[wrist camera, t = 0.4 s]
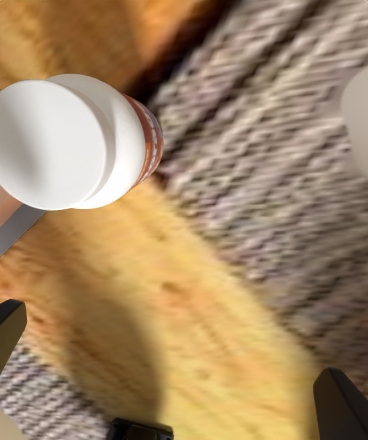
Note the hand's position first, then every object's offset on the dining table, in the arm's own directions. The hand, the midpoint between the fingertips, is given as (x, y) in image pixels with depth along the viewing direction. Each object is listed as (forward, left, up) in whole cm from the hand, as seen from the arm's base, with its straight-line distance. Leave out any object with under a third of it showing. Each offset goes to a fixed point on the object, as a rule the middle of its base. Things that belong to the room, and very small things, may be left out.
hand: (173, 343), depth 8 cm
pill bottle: (+4, +6, -15) cm, 16 cm away
